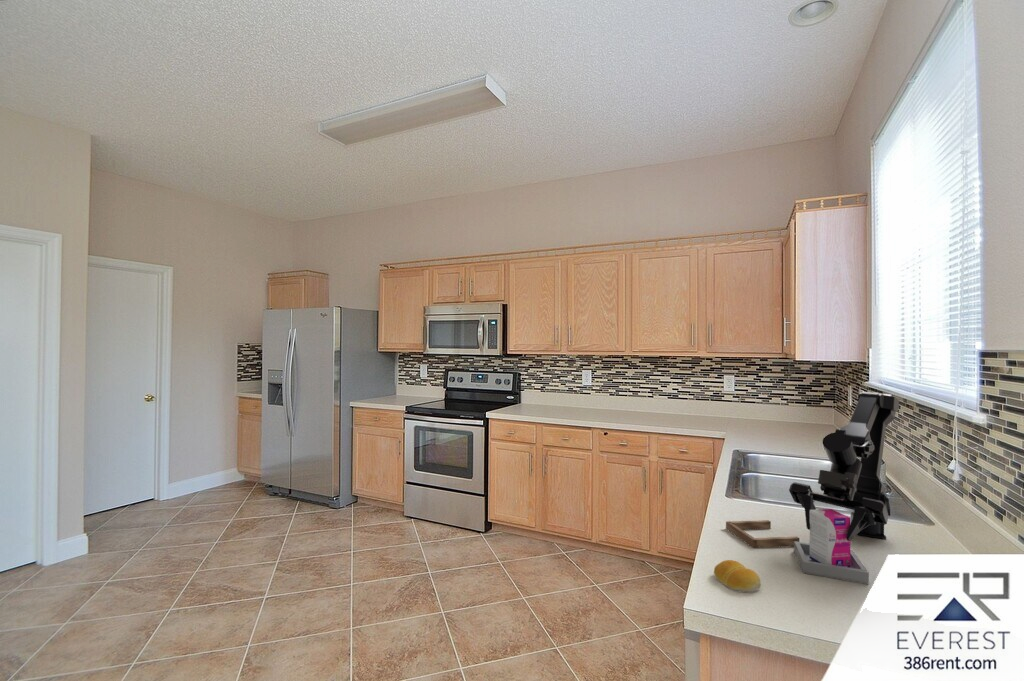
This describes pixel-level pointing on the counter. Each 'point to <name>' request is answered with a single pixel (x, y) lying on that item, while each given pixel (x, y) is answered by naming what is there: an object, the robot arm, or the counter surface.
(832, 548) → the supplement box
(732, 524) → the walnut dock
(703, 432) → the counter surface
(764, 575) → the counter surface
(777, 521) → the counter surface
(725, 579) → the bread roll
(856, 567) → the grey tray
